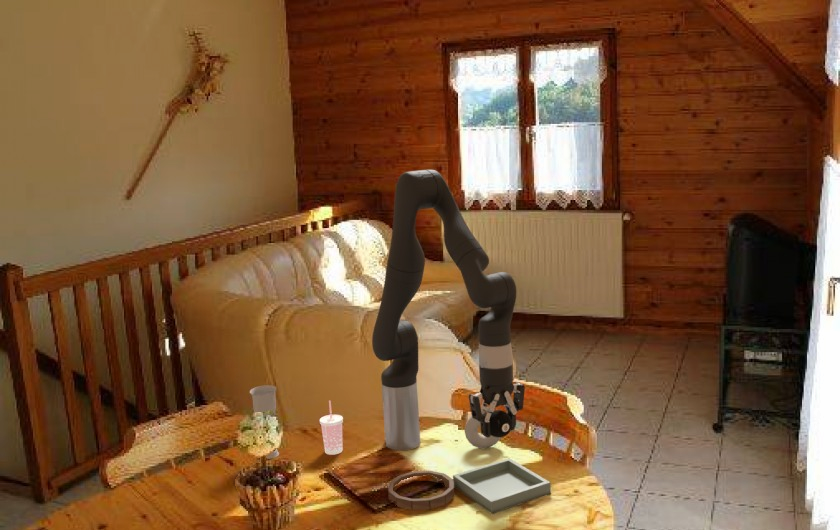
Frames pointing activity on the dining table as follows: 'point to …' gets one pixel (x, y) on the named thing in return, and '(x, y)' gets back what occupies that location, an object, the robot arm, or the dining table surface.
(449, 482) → the walnut ring
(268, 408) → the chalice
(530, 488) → the tray
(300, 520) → the dining table surface
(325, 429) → the beverage cup
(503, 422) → the billiard ball
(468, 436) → the donut
